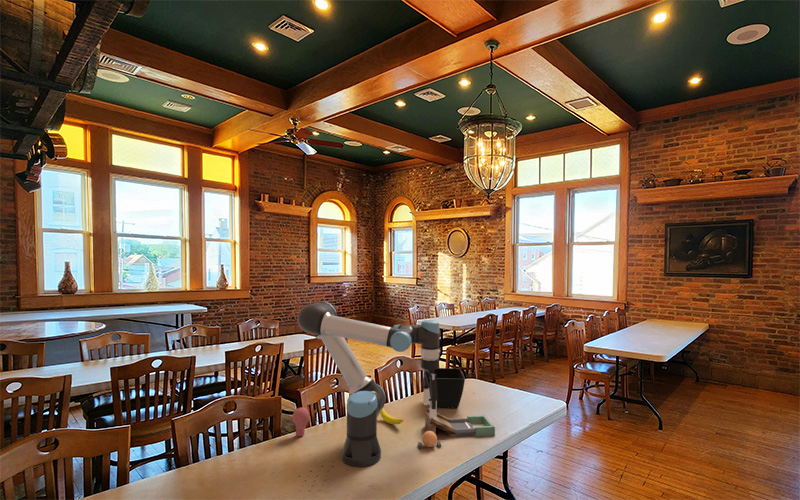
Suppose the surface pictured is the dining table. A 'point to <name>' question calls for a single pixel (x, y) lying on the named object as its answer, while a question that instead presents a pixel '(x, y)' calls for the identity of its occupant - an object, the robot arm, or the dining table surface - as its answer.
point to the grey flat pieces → (437, 444)
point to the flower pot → (449, 387)
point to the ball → (429, 438)
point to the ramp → (438, 423)
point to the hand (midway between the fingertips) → (429, 410)
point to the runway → (462, 427)
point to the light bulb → (300, 420)
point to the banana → (390, 418)
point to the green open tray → (482, 425)
